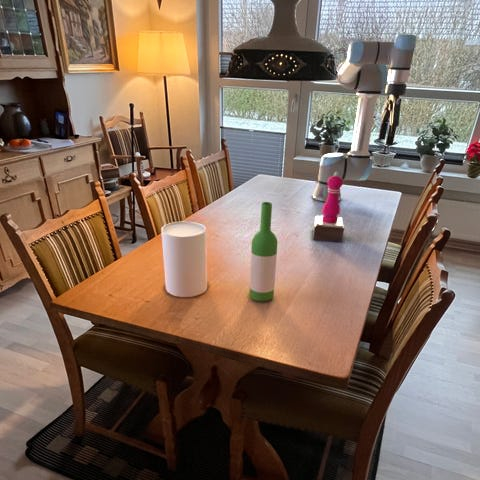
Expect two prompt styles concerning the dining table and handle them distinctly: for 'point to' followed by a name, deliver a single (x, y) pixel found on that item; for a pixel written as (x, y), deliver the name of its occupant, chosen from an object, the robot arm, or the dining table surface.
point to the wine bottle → (263, 258)
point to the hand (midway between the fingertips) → (385, 142)
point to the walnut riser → (328, 230)
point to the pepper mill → (332, 199)
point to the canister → (185, 258)
